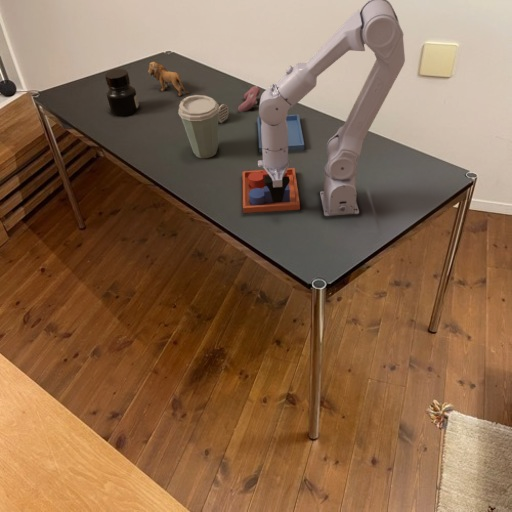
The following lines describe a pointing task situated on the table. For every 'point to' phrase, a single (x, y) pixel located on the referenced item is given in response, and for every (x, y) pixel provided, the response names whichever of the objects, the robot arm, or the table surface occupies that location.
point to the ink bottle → (121, 93)
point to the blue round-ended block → (265, 196)
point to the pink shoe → (250, 99)
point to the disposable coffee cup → (201, 124)
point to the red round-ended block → (258, 179)
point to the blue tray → (293, 133)
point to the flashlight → (222, 111)
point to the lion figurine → (165, 77)
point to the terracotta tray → (267, 207)
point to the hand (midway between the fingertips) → (276, 194)
